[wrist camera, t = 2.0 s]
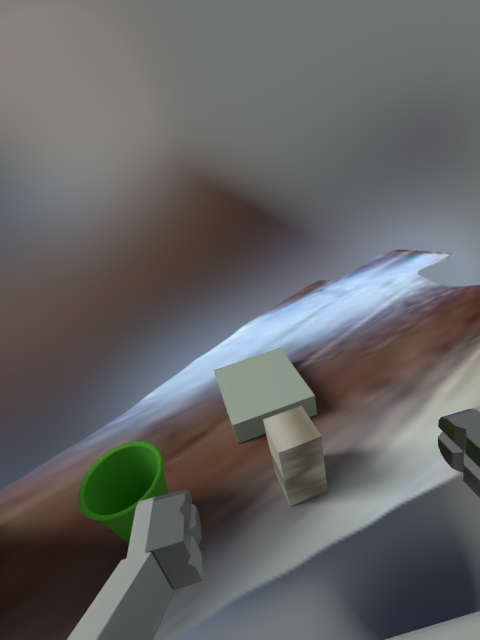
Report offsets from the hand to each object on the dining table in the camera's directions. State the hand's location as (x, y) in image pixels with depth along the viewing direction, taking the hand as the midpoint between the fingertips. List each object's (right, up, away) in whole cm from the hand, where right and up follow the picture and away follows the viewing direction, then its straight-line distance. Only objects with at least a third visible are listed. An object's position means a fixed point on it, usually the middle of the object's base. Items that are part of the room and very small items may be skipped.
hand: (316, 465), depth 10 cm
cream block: (+5, -16, +31) cm, 35 cm away
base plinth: (+2, -9, +45) cm, 46 cm away
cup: (-13, -22, +29) cm, 39 cm away
